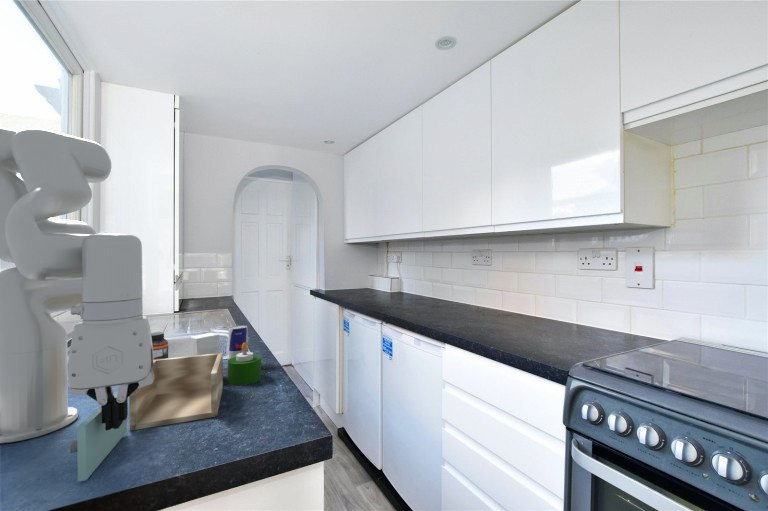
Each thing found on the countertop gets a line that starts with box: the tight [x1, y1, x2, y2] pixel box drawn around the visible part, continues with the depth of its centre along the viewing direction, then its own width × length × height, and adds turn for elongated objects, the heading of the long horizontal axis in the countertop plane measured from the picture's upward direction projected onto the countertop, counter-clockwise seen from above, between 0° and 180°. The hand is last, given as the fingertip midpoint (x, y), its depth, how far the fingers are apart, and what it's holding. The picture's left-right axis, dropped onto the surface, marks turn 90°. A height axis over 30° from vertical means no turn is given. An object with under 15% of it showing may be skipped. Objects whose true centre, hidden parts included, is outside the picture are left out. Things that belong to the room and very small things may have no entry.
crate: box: [128, 352, 224, 431], centre depth 75 cm, size 15×16×9 cm
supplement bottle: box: [151, 331, 169, 360], centre depth 98 cm, size 6×6×11 cm
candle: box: [227, 343, 262, 386], centre depth 92 cm, size 8×8×10 cm
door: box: [69, 391, 128, 482], centre depth 56 cm, size 14×2×8 cm, turn 18°
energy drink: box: [227, 324, 249, 360], centre depth 102 cm, size 5×5×12 cm
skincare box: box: [189, 332, 221, 356], centre depth 92 cm, size 6×4×12 cm
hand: (115, 425), depth 54 cm, fingers closed
